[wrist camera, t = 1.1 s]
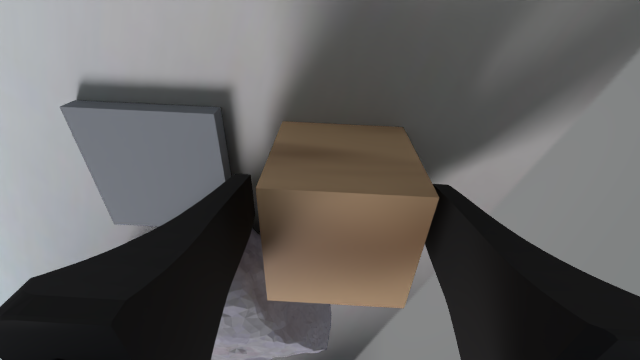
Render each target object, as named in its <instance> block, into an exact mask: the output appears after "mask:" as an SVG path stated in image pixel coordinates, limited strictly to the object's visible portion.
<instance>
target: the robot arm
mask: <svg viewBox="0 0 640 360" xmlns="http://www.w3.org/2000/svg"><path fill="white" fill-rule="evenodd" d="M433 186H434V188H435V190H436V192H437V194H438V196H439V200H438V203H437V206H436V210H435V213H434V216H433V219H432V222H431V225H430V228H429V232H428V235H427V238H426V241H425V245H426V248H427V251H428V254H429V256H430V259H431V262H432V264H433V267H434V270H435V272H436V275H437V277H438V280H439V283H440V286H441V288H442V291H443V293H444V296H445V299H446V302H447V305H448V309H449V312H450V316H451V320H452V324H453V328H454V332H455V335H456V340H457V344H458V348H459V353H460V357H461V360H640V297H639V296H637V295H634V294H632V293H630V292H627V291H625V290H623V289H620V288H618V287H616V286H613V285H611V284H609V283H606V282H604V281H602V280H600V279H598V278H596V277H594V276H591V275H589V274H587V273H585V272H583V271H581V270H579V269H577V268H575V267H573V266H571V265H569V264H567V263H565V262H563V261H561V260H559V259H558V258H556V257H554V256H552V255H550V254H548V253H546V252H545V251H543V250H541V249H540V248H538V247H536V246H535V245H533V244H531V243H529V242H528V241H526V240H525V239H523V238H521V237H520V236H518V235H517V234H515V233H514V232H512V231H511V230H509V229H508V228H506V227H505V226H503V225H502V224H500V223H499V222H498V221H496V220H495V219H494V218H492V217H491V216H489V215H488V214H487V213H485V212H484V211H483V210H481V209H480V208H479V207H478V206H476V205H475V204H474V203H472V202H471V201H470V200H468V199H467V198H466V197H465V196H463V195H462V194H461V193H459V192H458V191H457V190H455V189H454V188H452V187H451V186H449V185H443V184H433ZM254 218H255V208H254V199H253V190H252V181H251V175H248V174H235V175H233V176H232V177H231V178H229V179H228V180H227V181H225V182H224V183H223V184H221V185H220V186H219V187H218V188H216V189H215V190H214V191H212V192H211V193H210V194H208V195H207V196H206V197H204V198H203V199H202V200H200V201H199V202H197V203H196V204H195V205H193V206H192V207H190V208H189V209H187V210H186V211H184V212H183V213H181V214H180V215H178V216H177V217H175V218H173V219H172V220H170V221H168V222H167V223H165V224H163V225H161V226H159V227H158V228H156V229H154V230H152V231H150V232H148V233H146V234H144V235H142V236H140V237H138V238H136V239H134V240H132V241H129V242H127V243H125V244H123V245H121V246H119V247H116V248H114V249H112V250H109V251H107V252H104V253H102V254H99V255H97V256H94V257H92V258H89V259H86V260H84V261H81V262H78V263H76V264H73V265H70V266H67V267H64V268H61V269H58V270H55V271H52V272H49V273H46V274H43V275H39V276H36V277H33V278H30V279H29V280H28V281H27V282H26V283H25V284H24V285H23V286H22V287H21V288H20V289H19V290H18V291H16V292H15V293H14V294H13V295H12V296H11V297H10V298H9V299H8V300H7V301H6V302H5V303H4V304H3V305H2V306H1V307H0V358H1V359H2V360H211V357H212V353H213V349H214V345H215V341H216V337H217V333H218V329H219V325H220V321H221V317H222V314H223V310H224V307H225V303H226V299H227V296H228V293H229V290H230V287H231V284H232V281H233V279H234V276H235V274H236V271H237V269H238V266H239V263H240V261H241V258H242V256H243V253H244V251H245V248H246V246H247V243H248V240H249V238H250V235H251V231H252V227H253V222H254Z"/></svg>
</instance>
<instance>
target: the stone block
mask: <svg viewBox="0 0 640 360" xmlns="http://www.w3.org/2000/svg"><path fill="white" fill-rule="evenodd" d="M330 328H331V307H330V304H322V303H304V302H287V301H269V300H267V292H266V282H265V273H264V263H263V254H262V244H261V235H260V234H258V233H256V232H255V231H254V229H253V228H252V231H251V235H250V238H249V240H248V243H247V246H246V248H245V251H244V253H243V256H242V258H241V261H240V263H239V266H238V269H237V271H236V274H235V276H234V279H233V281H232V284H231V287H230V290H229V293H228V296H227V299H226V303H225V307H224V310H223V314H222V317H221V321H220V325H219V329H218V333H217V337H216V341H215V345H214V349H213V353H212V357H211V360H271V359H273V357H288V356H291V355H296V354H301V353H318V352H320V351H323V350H326V349H327V345H328V339H329V332H330Z"/></svg>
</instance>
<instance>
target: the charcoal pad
mask: <svg viewBox="0 0 640 360" xmlns="http://www.w3.org/2000/svg"><path fill="white" fill-rule="evenodd" d="M60 109H61V111H62V113H63V115H64V117H65V119H66V122H67V124H68V126H69V128H70V130H71V132H72V134H73V137H74V139H75V141H76V143H77V145H78V147H79V150H80V152H81V154H82V156H83V158H84V160H85V162H86V165H87V167H88V169H89V171H90V173H91V175H92V178H93V180H94V182H95V184H96V186H97V188H98V190H99V193H100V195H101V197H102V199H103V201H104V203H105V206H106V208H107V210H108V212H109V214H110V216H111V218H112V221H113V223H114V224H120V225H139V226H157V227H159V226H161V225H163V224H165V223H167V222H168V221H170V220H172V219H173V218H175V217H177V216H178V215H180V214H181V213H183V212H184V211H186V210H187V209H189V208H190V207H192V206H193V205H195V204H196V203H197V202H199V201H200V200H202V199H203V198H204V197H206V196H207V195H208V194H210V193H211V192H212V191H214V190H215V189H216V188H218V187H219V186H220V185H221V184H223V183H224V182H225V181H227V180H228V179H229V178H231V171H230V165H229V158H228V152H227V145H226V139H225V132H224V126H223V120H222V113H221V107H205V106H184V105H163V104H142V103H120V102H99V101H78V100H75V101H72V102H70V103H68V104H65V105H63V106H60Z"/></svg>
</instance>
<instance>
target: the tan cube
mask: <svg viewBox="0 0 640 360" xmlns="http://www.w3.org/2000/svg"><path fill="white" fill-rule="evenodd" d="M256 196H257V206H258V215H259V225H260V234H261V244H262V254H263V263H264V273H265V282H266V292H267V300H269V301H287V302H304V303H322V304H339V305H356V306H374V307H391V308H404V307H405V304H406V300H407V297H408V294H409V291H410V288H411V285H412V282H413V279H414V275H415V272H416V269H417V266H418V263H419V260H420V257H421V253H422V250H423V247H424V244H425V241H426V238H427V235H428V232H429V228H430V225H431V222H432V219H433V216H434V213H435V210H436V206H437V203H438V200H439V196H438V194H437V192H436V190H435V188H434V186H433V184H432V182H431V180H430V179H429V177H428V175H427V173H426V171H425V169H424V167H423V165H422V163H421V161H420V159H419V157H418V155H417V153H416V151H415V149H414V147H413V145H412V144H411V142H410V140H409V138H408V136H407V134H406V132H405V130H404V128H403V127H390V126H369V125H348V124H327V123H306V122H285V121H282V124H281V126H280V129H279V131H278V134H277V136H276V139H275V141H274V144H273V146H272V149H271V151H270V154H269V156H268V159H267V161H266V164H265V166H264V169H263V171H262V174H261V176H260V179H259V181H258V184H257V186H256Z"/></svg>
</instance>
